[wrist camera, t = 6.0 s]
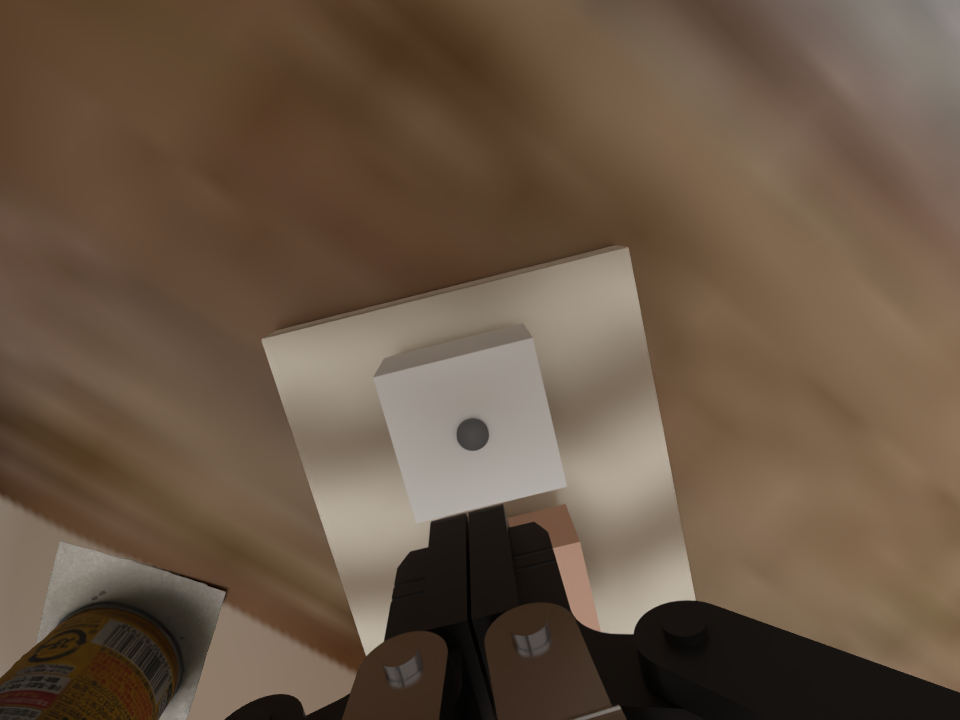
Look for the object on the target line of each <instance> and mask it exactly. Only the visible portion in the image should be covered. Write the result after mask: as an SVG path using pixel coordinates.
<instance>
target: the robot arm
mask: <svg viewBox="0 0 960 720" xmlns="http://www.w3.org/2000/svg"><path fill="white" fill-rule="evenodd" d="M394 586H395V588H393V594H392V602H391V605H390V610H389V616H388V621H387V626H386V632H385V637H384V642H383V643H381V644H380V645H378V646H377V647H376V648H374V649H373V650H372V651H371V652H370V653H369V654H368V655H367V656H366V657H365V659H364V660H363V661H362V663H361V665H360V667H359V669H358V671H357V674H356V678H355V681H354V684H353V687H352V690H351V693H350V694H348V695H347V696H345V697H343V698H341V699H339V700H338V701H336V702H333V703H331V704H329V705H327V706H325V707H323V708H321V709H319V710H317V711H315V712H313V713H311V714H309V715H307V716H306V715H305V712H304V709H303V707H302V704H301V702H300V701H299V700H298V699H297V698H295V697H293V696H290V695H285V694H276V695H270V696H266V697H263V698H260V699H257V700H255V701H252V702H250V703H248V704H246V705H245V706H243V707H241V708H240V709H238V710H236V711H235V712H233V713H232V714H231V715H230V716H228V717H227V718H226V719H225V720H960V693H959V692H956V691H954V690H951V689H948V688H945V687H942V686H940V685H937V684H934V683H931V682H928V681H926V680H923V679H920V678H917V677H914V676H912V675H909V674H906V673H903V672H900V671H898V670H895V669H892V668H889V667H886V666H883V665H881V664H878V663H875V662H872V661H869V660H867V659H864V658H861V657H858V656H855V655H853V654H850V653H847V652H844V651H841V650H839V649H836V648H833V647H830V646H827V645H825V644H822V643H819V642H816V641H813V640H811V639H808V638H805V637H802V636H799V635H797V634H794V633H791V632H788V631H785V630H783V629H780V628H777V627H774V626H771V625H768V624H766V623H763V622H760V621H757V620H754V619H752V618H749V617H746V616H743V615H740V614H738V613H735V612H732V611H729V610H726V609H724V608H721V607H718V606H715V605H712V604H709V603H705V602H700V601H691V600H683V601H673V602H668V603H665V604H662V605H659V606H657V607H654V608H653V609H651V610H649V611H648V612H647V613H645V614H644V615H643V616H642V617H641V618H640V619H639V621H638V622H637V624H636V626H635V629H634V634H610V633H604V632H599V631H596V630H593V629H591V628H588V627H586V626H585V625H583V624H582V623H580V622H579V621H578V620H577V619H576V618H575V616H574V615H573V613H572V611H571V609H570V605H569V602H568V598H567V595H566V591H565V588H564V585H563V581H562V578H561V574H560V571H559V567H558V564H557V561H556V557H555V554H554V550H553V547H552V543H551V540H550V537H549V533H548V531H546V530H545V529H544V528H542V527H541V526H540V525H538V524H537V523H536V522H530V523H526V524H522V525H517V526H513V527H509V523H508V519H507V515H506V511H505V508H504V505H503V504H500V505H496V506H492V507H488V508H483V509H479V510H475V511H471V512H469V513H468V516H467V514H466V513H463V514H459V515H455V516H451V517H447V518H442V519H438V520H434V521H431V523H430V533H429V543H428V547H426V548H422V549H418V550H414V551H410V552H409V553H408V555H407V556H406V557H405V559H404V560H403V561H402V562H401V564H400V565H399V566H398V568H397V572H396V577H395V583H394Z"/></svg>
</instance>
